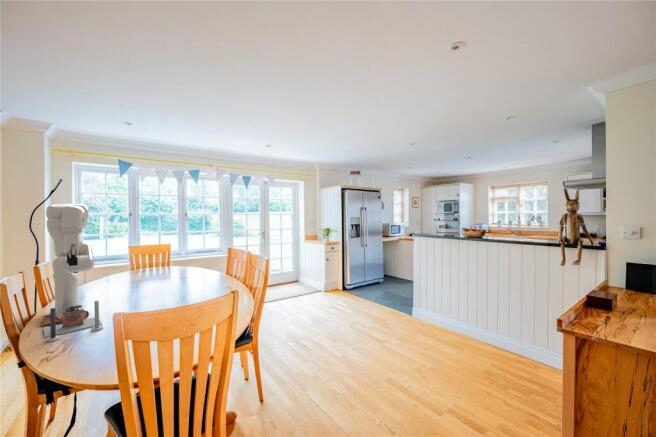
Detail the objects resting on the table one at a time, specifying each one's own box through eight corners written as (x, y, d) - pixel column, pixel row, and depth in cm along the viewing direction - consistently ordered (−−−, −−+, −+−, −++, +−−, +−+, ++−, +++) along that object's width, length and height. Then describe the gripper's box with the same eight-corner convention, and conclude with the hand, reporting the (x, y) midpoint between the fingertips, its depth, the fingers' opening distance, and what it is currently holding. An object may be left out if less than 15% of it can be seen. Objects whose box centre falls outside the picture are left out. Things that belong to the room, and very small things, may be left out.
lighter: (60, 328, 130) (60, 307, 130) (63, 325, 133) (63, 305, 133) (82, 325, 134) (82, 305, 134) (84, 322, 137) (84, 303, 137)
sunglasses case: (36, 328, 132) (39, 314, 135) (41, 330, 137) (43, 317, 140) (85, 320, 141) (87, 308, 144) (88, 323, 146) (89, 311, 149)
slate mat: (43, 329, 131) (43, 327, 131) (97, 317, 146) (97, 316, 146) (44, 338, 121) (44, 336, 121) (102, 325, 136) (102, 323, 136)
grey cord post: (91, 329, 131) (90, 300, 130) (102, 326, 134) (102, 298, 133) (91, 332, 128) (90, 303, 127) (103, 329, 131) (102, 301, 130)
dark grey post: (45, 340, 120) (45, 308, 119) (59, 336, 123) (59, 306, 123) (46, 343, 117) (46, 311, 117) (60, 339, 120) (60, 308, 120)
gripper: (60, 230, 140) (60, 263, 140) (63, 231, 128) (63, 267, 128) (80, 229, 145) (80, 261, 146) (84, 231, 134) (84, 265, 134)
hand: (72, 264), depth 137 cm, fingers open, 9 cm apart
